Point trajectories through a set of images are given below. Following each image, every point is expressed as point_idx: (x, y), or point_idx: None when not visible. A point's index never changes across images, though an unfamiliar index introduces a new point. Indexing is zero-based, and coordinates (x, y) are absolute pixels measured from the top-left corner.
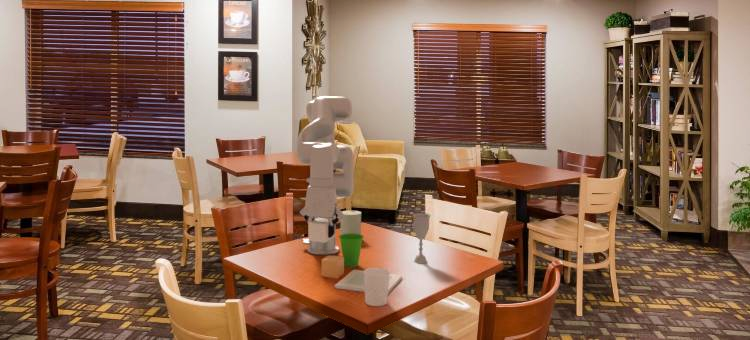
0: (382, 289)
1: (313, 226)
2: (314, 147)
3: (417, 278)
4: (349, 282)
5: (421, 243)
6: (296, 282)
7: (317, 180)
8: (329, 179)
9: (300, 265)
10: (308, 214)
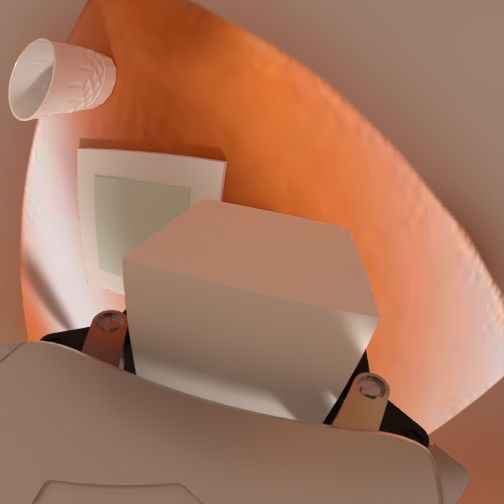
0: (50, 62)
1: (302, 280)
2: None
3: (69, 279)
4: (181, 195)
5: None
6: (374, 201)
7: None
8: None
9: (376, 355)
10: (393, 450)
